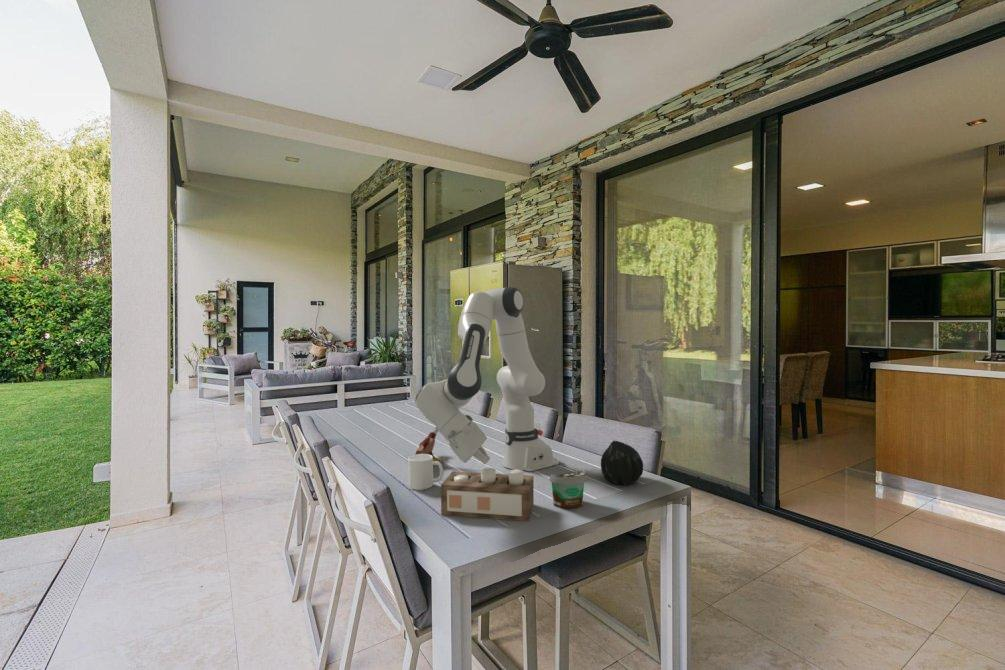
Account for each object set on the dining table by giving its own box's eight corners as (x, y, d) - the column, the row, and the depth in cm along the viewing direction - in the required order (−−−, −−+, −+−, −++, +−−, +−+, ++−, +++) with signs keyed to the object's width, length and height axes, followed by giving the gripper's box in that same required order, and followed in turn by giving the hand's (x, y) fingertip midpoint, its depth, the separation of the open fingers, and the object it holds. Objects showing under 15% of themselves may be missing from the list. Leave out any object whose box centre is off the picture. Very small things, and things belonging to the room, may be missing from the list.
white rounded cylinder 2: (507, 490, 136) (507, 473, 136) (510, 485, 140) (510, 469, 140) (522, 491, 135) (522, 474, 135) (524, 486, 139) (524, 469, 139)
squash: (658, 468, 159) (634, 431, 166) (631, 479, 150) (606, 439, 157) (633, 486, 168) (611, 450, 175) (607, 497, 159) (584, 459, 166)
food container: (559, 513, 136) (559, 480, 135) (549, 506, 141) (549, 474, 141) (594, 506, 141) (594, 474, 140) (583, 499, 146) (583, 468, 146)
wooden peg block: (441, 514, 136) (440, 484, 135) (452, 498, 148) (452, 471, 147) (528, 521, 131) (528, 490, 131) (533, 504, 143) (533, 475, 143)
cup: (413, 481, 164) (412, 453, 163) (446, 482, 162) (445, 454, 162) (405, 490, 156) (405, 460, 155) (440, 491, 154) (439, 461, 154)
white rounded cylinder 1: (479, 488, 137) (479, 472, 137) (482, 483, 142) (482, 467, 141) (494, 489, 137) (494, 473, 136) (496, 484, 141) (496, 468, 141)
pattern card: (446, 511, 135) (446, 491, 134) (447, 510, 135) (447, 490, 135) (521, 516, 131) (521, 495, 130) (521, 515, 131) (521, 494, 131)
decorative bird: (453, 465, 170) (437, 428, 170) (408, 484, 171) (392, 447, 170) (462, 444, 198) (448, 412, 198) (423, 461, 199) (409, 429, 198)
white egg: (452, 495, 139) (452, 479, 139) (456, 490, 143) (456, 474, 143) (466, 496, 138) (466, 480, 138) (470, 491, 142) (469, 475, 142)
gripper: (453, 429, 129) (487, 465, 128) (471, 414, 150) (501, 445, 148) (438, 444, 130) (472, 480, 129) (458, 427, 151) (487, 458, 149)
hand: (487, 461), depth 139 cm, fingers closed
